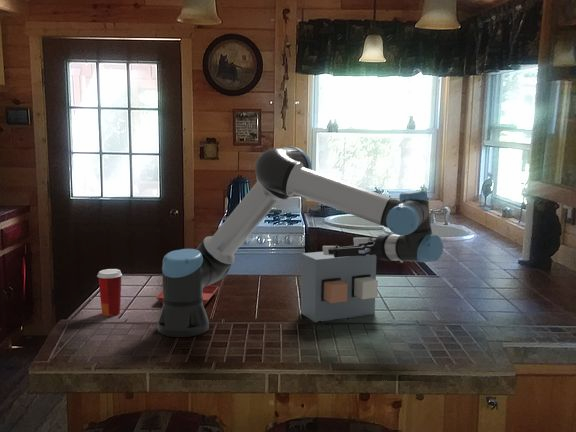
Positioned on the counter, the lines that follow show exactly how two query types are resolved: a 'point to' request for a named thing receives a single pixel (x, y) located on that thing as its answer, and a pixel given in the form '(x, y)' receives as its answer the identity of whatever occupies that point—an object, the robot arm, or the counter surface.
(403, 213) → the robot arm
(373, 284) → the cream button
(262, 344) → the counter surface
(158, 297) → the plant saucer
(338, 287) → the rust button
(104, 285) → the paper cup
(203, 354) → the counter surface
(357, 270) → the box
